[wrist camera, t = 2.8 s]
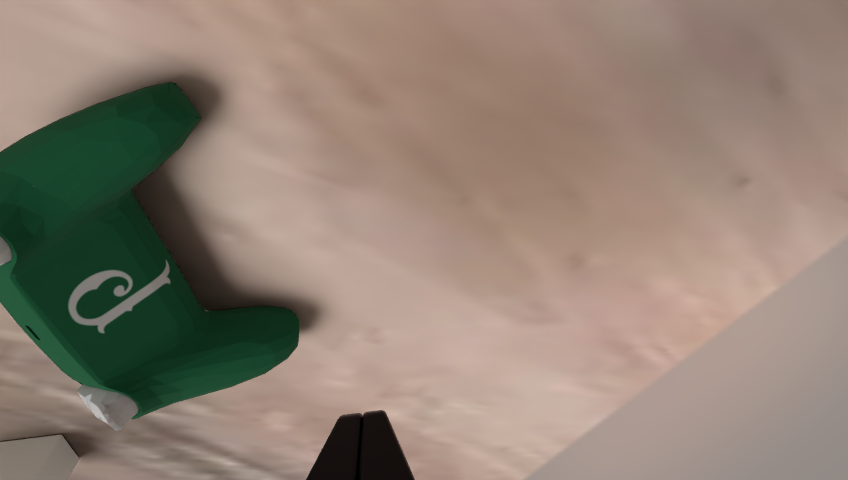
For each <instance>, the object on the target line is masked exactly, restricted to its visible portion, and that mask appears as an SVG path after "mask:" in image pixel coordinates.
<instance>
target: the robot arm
mask: <svg viewBox="0 0 848 480" xmlns="http://www.w3.org/2000/svg"><path fill="white" fill-rule="evenodd" d="M306 480H415V479H414V477H413V474H412V472H411V470H410V467H409V465H408V463H407V460H406V458H405V456H404V453H403V451H402V449H401V447H400V444H399V442H398V440H397V437H396V435H395V433H394V430H393V428H392V426H391V423H390V421H389V419H388V416H387V414H386V412H385V411H383V410H379V411H371V412H366V413H364V414H363V415H362V414H360V413H355V414H347V415H342V416H340V417H339V419H338V420H337V422H336V424H335V426H334V428H333V430H332V431H331V433H330V435H329V437H328V439H327V441H326V443H325V445H324V447H323V449H322V450H321V452H320V454H319V456H318V458H317V460H316V462H315V464H314V466H313V467H312V469H311V471H310V473H309V475H308V477H307V479H306Z"/></svg>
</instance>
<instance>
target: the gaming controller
mask: <svg viewBox="0 0 848 480" xmlns="http://www.w3.org/2000/svg"><path fill="white" fill-rule="evenodd" d="M200 119H201V116H200V114H199V113H198V112H197V110H196V109H195V108H194V107H193V105H192V104H191V103H190V101H189V100H188V99H187V97H186V96H185V95H184V93H183V92H182V90H181V89H180V88H179V87H178V85H176V83H171V82H169V83H164V84H160V85H155V86H150V87H146V88H143V89H140V90H137V91H134V92H130V93H127V94H124V95H121V96H118V97H115V98H112V99H110V100H107V101H104V102H100V103H98V104H95V105H93V106H90V107H88V108H85V109H83V110H81V111H78V112H76V113H73V114H71V115H69V116H66V117H64V118H62V119H59V120H57V121H55V122H53V123H51V124H49V125H47V126H45V127H43V128H41V129H39V130H37V131H35V132H33V133H31V134H29V135H27V136H25V137H24V138H22V139H20V140H19V141H17V142H16V143H14V144H12V145H11V146H9V147H7V148H6V149H4V150H3V151H1V152H0V302H1V304H2V305H3V306H4V307H5V309H6V310H7V311H8V312H9V313H10V315H11V316H12V317H13V318H14V320H15V321H16V322H17V323H18V325H19V326H20V327H21V328H22V329H23V330H24V331H25V332H26V333H27V335H28V336H29V337H30V338H31V339H32V340H33V341H34V342H35V344H36V345H37V346H38V347H39V348H40V349H41V350H42V351H43V352H44V353H45V354H46V355H47V356H48V357H49V358H50V359H51V360H52V361H53V362H54V363H55V364H56V365H57V366H58V367H59V368H60V369H61V370H62V371H63V372H64V373H65V374H67V375H68V376H69V377H71V378H72V379H73V380H75V381H77V382H79V383H80V384H81V385H82V386H81V387H80V388H79V389H78V391H77V392H78V393H79V395H80V396H81V398H82V399H83V401H84V402H85V404H86V405H87V407H88V408H89V409H90V410H91V411H92V412H93V413H94V415H95V416H96V417H97V418H99V419H101V420H102V421H104V422H106V423H107V424H109V425H110V426H111V427H112V428H113V429H114V430H116V431H119V430H121V429H123V428H124V426H125V424H126V423H127V422H128V421H129V420H130V419H136V418H139V417H140V416H143V415H145V414H148V413H150V412H153V411H155V410H158V409H160V408H163V407H165V406H168V405H170V404H173V403H176V402H179V401H183V400H187V399H190V398H194V397H197V396H201V395H204V394H208V393H211V392H215V391H218V390H222V389H226V388H229V387H232V386H235V385H237V384H240V383H242V382H245V381H247V380H250V379H252V378H255V377H257V376H260V375H262V374H265V373H266V372H268V371H269V370H271V369H272V368H274V367H275V366H277V365H278V364H280V363H281V362H283V361H284V360H286V359H287V358H288V357H289V356H290V355H291V354H292V352H293V351H294V350H295V349H296V348H297V346H298V340H299V319H298V317H297V316H296V314H295V313H294V312H292V311H291V310H289V309H286V308H281V307H271V306H259V307H248V308H237V309H228V310H220V311H209V310H206V309H204V308H203V307H202V306H200V304H199V302H198V301H197V299H196V297H195V295H194V294H193V292H192V290H191V288H190V287H189V285H188V283H187V282H186V280H185V278H184V277H183V275H182V273H181V272H180V270H179V268H178V266H177V265H176V263H175V261H174V260H173V258H172V256H171V255H170V253H169V251H168V250H167V248H166V247H165V245H164V243H163V242H162V240H161V239H160V237H159V235H158V234H157V232H156V230H155V229H154V227H153V226H152V224H151V222H150V221H149V219H148V218H147V216H146V214H145V213H144V211H143V210H142V208H141V207H140V205H139V203H138V202H137V200H136V199H135V197H134V195H133V191H132V189H133V187H134V186H135V185H137V184H138V183H139V182H140V181H142V180H143V179H144V178H145V177H147V176H148V175H149V174H151V173H152V172H153V171H154V170H156V169H157V168H158V167H159V166H160V165H161V164H162V163H163V162H165V161H166V160H167V159H168V158H169V157H170V156H171V155H172V154H174V153H175V152H176V151H177V150H178V149H179V148H180V147H181V146H182V145H183V143H184V142H185V140H186V139H187V137H188V136H189V134H190V133H191V132H192V130H193V129H194V127H195V126H196V124H197V123H198V122H199V120H200Z"/></svg>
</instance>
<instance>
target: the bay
mask: <svg viewBox="0 0 848 480" xmlns="http://www.w3.org/2000/svg"><path fill="white" fill-rule="evenodd" d="M78 460H79V458H78V456H77V455H76V454H75V452H74V451H73V449H72V448H71V447H70V445H69V444H68V443H67V441H66V440H65V439H64V437H63V436H62V435H54V436H46V437H38V438H29V439H21V440H13V441H5V442H0V480H68V478H69V476H70V474H71V472H72V471H73V469H74V467H75V465H76V463H77V461H78Z"/></svg>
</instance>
